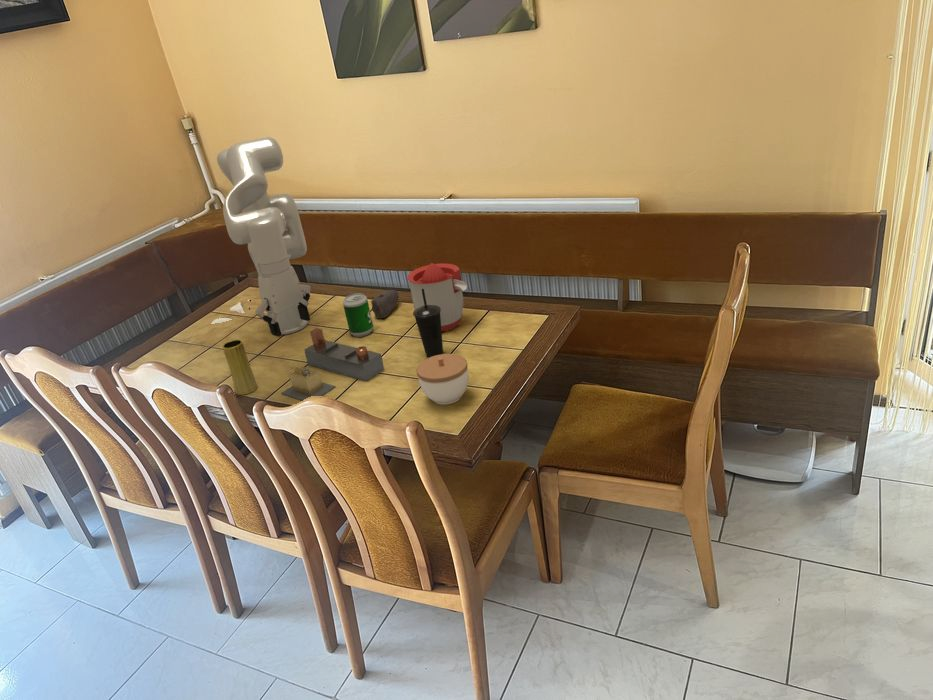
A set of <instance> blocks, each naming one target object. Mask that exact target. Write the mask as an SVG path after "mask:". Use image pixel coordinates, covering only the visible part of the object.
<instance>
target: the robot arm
mask: <svg viewBox="0 0 933 700" xmlns="http://www.w3.org/2000/svg"><path fill="white" fill-rule="evenodd" d="M216 161H217V164H218V165H217V166H218V167H219V169H220V171H221V172H222V174H223V175H224V176H225V177H226V179H228V181H229V182H230V184H232V186H233V187H232V188H231V189H230V190H229V192H228V194H227V195H226V197H225V199H224V202H223V205H222V212H223V213H222V214H223V218H224V219H223V220H224V222H225V226H226V227H225V228H226V231H227V234H228V236H229V238H230V240H231V241H232V242H233V243H234V244H236V245H246V244H247V251H248V253H249V256H250V258H251V260H252V262H253V264H254V267H255V269H256V271H257V275H258V276H257V282H258V283H257V284H258V290H259V291H258V292H259V296H260V300H261V303H260V305H258V307H257V309H255V310H254V311H255V312H254V313H255V315H256V316H257V317H259V318H260V320H262V321H264V322H266V323H267V324H268V329H269V332H270V333H271V334H272V336H275V337H278V338H279V337H282V335H288V334H289V335H290V334H293V333H297V332H299V331H301V330H302V329H304V328H305V327H307V326H308V324H309V321H311V318H310V313H309V312H310V311H309V308H308V305H309V304H310V303H309V300H310V297H311V285H308V284H301V282H300V280H299V277H298V275H297V273H296V271H295V269H294V267H293V265H292V264H290V260H294V259H298V258H301V257H303V256H305V255H306V253H307V250H308V247H307V242H306V236H305V234H304V230H303V226H302V221H301V217H300V214H299V210H298V207H297V205H296V202H295V200H294V198H293V197H292V196H291V195H290V194H288V193H279V194H274V195H270V196H269V195H268V191H267V190H268V187H269V186H268V185H269V184H268V181H267V180H268V179H267V178H266V173H270V172H275V171H279V170H280V169H282V167H283V164H284V155H283V151H282V148H281V146H280V144H279V143H278V141H277V140H276V139H275V138H273V137H270V136H269V137H268V136H266V137H261V138H256V139H251V140H246V141H245V140H244V141H240V142H238V143H234V144H233V145H231V146H230V147H229V148H226V149H224V150H222V151H220V152H219V153H218V154H217V156H216ZM265 312H266V313H265Z"/></svg>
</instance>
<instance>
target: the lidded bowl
mask: <svg viewBox="0 0 933 700" xmlns="http://www.w3.org/2000/svg"><path fill="white" fill-rule="evenodd" d="M468 368H469V367H468V360H467V359H466V358H465V357H464V356H462V355H460V354H455V353H443V354H441V355H436V356H432V357H430V358H427V357H426V358H425V359H424V360H422V361H421V362H420V363H419V364H418V365H417V367H416V368H415V369H416V375H417V378H418V383H419V384H420V389H421V390H422V392H423V393H424V395H425V396H426V397H427V399H430V400H431V401H433V402H434V403H435V404H437V405H440V406H441V405H443V406H445V405H446V406H447V405H451V404H455V403H457V402H458V401H459V400H460V399H461V398H462V396H463V395H464V393H465V392H466V391H467V388H468V383H469V370H468Z"/></svg>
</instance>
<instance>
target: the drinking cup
mask: <svg viewBox="0 0 933 700" xmlns="http://www.w3.org/2000/svg"><path fill="white" fill-rule="evenodd" d="M422 295H423V300H424V306H421V307H419V308H417V309H416V310H415V309H414V310H413V312H412V315H413V317H414V319H415V322H416V326H417V329H418V333H419V336H420V339H421V343H422V346H423V348H424V352H425V353H424V354H425V356H426V359H427V358H430V357H432V356H436V355H441V354H444V346H443V331H442V330H441V318H440V311H441V308H440V307H439V306H436V305H427V303H426V297H425V292H424V289H422Z"/></svg>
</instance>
